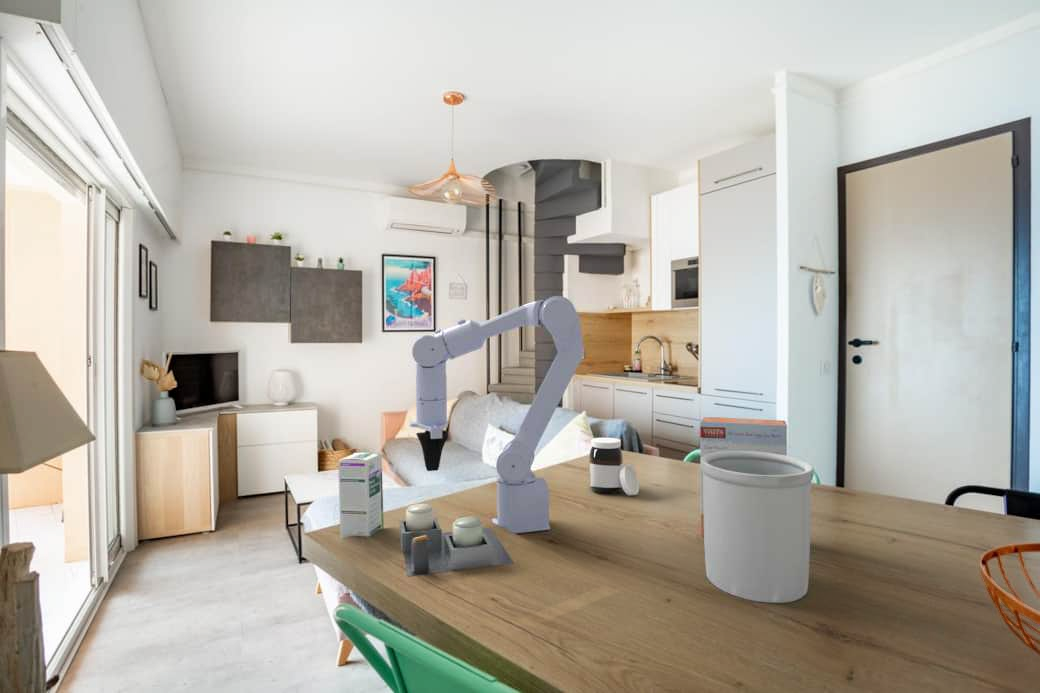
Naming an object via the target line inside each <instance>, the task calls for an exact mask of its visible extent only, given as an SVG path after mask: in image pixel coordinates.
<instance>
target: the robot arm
mask: <svg viewBox="0 0 1040 693" xmlns="http://www.w3.org/2000/svg"><path fill="white" fill-rule="evenodd" d="M542 325H543V326H544V327H545V328H546V330H547V331H548V332H549V334H550V335H551V336H552V340H553V343H554V345H555V348H556V350H557V354H556V355H555V358H554V360H553V361H552V363H551V366H550V368H549V369H548V371H547V373H546V375H545V377H544V379H543V381H542V383H541V385H540V387H539V388H538V391H537V393H536V394H535V397H534V399H533V401H532V403H531V405H530V407H529V408H528V410H527V412H526V414H525V416H524V418H523V419H522V422H521V424H520V426H519V428H518V429H517V432H516V433H515V436H513V437H514V438H513V439H511V440H510V441H508V442H507V444H505V446H504V447H503V450H502V452H501V453H500V454H499V455H498V456H497V460H496V463H495V464H496V468H495V469H496V471H497V474H498V475H497V477H496V482H497V483H496V491H497V492H496V496H497V497H496V498H497V499H496V500H497V501H496V504H497V505H496V507H497V508H496V509H497V512H496V514H497V517H494V518H491V522H492V523H493V524H495V525H498V526H499V527H501V528H503V529H505V530H507V531H510V532H512V533H513V534H523V533H532V532H539V531H550V530H551V526H550V491H549V486H548V483H547V481H546V479H545V478H544V477H542V476H540V477H536V474H534V472H533V470H532V469H531V468H532V465H533V464H534V460H535V451H536V449H537V447H538V445H539V444H540V443H539V442H541V441H540V440H541V439H542V437H543V435H544V433H545V431H546V429H547V427H548V425H549V423H550V421H551V419H552V417H553V415H554V413H555V411H556V409H557V408H558V405H559V403H560V402H561V401H562V397H563V396H564V394H565V392H566V390H567V388H568V386H569V384H570V382H571V381H572V379H573V376H574V374H575V372H576V371H577V368H578V366H579V365H580V364H581V361H582V358H583V357H584V354H585V349H584V343H583V342H584V340H583V334H582V326H581V325H582V324H581V319H580V316H579V313H578V312H577V309H576V308H575V306H574V304H573V302H571V300H570V299H568V298H567V297H565V296H561V295H554V296H551V297H549V298H547V299H546V300H544V299H541V300H536V301H533V302H529V303H525V304H523V305H521V306H518V307H516V308H513V309H511V310H509V311H505V312H504V313H501V314H500V315H497V316H495V317H492V318H490V319H488V320H486V321H483V322H480V323H479V322H477V321H474V320H472V319H470V320H467V321H466V319H460V320H457V325H454V326H451V327H449V328H446V329H444V330H441V329H437V330H435V331H434V333H435V335H429V334H428V335H427V334H425V335H423V336H422V337H420V338H419V339H417V340H416V341H415V343H414V344H413V346H412V351H411V354H412V357H413V360H414V361H415V362H416V365H415V366H416V375H415V382H416V383H415V384H416V386H415V388H416V389H415V391H416V392H415V393H416V396H415V397H416V398H415V399H416V400H415V401H416V403H415V404H416V405H415V406H416V421H411V422H410V423H409V424H410V425H409V427H411V428H418V429H421V430H423V432H417V433H415V435H416V436H417V439H418V441H419V443H420V446H421V450H422V454H423V461H424V465H425V469H426V471H427V472H435V471H439V469H440V463H441V457H442V453H443V449H444V446H445V444H446V441H447V440H448V438H449V434H448V433H447V431H446V430H444V429H446V428H447V427H448V426H449V421H448V416H447V415H448V412H447V410H448V408H447V407H448V404H447V402H448V400H447V391H448V390H447V387H448V386H447V372H446V371H447V369H446V366H447V365H446V364H447V363H446V362H447V361H448V360H454V359H456V358H459V357H462V356H464V355H466V354H469V353H472V352H474V351H477V350H480V349H482V348H483V346H484V344H485V341H487V339H488V338H489V339H490V338H492V337H494V336H498V335H501V334H504V333H506V332H509V331H513V330H514V329H517V328H521V327H523V326H531V327H538V328H540V327H542Z"/></svg>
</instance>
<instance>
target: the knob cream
mask: <svg viewBox="0 0 1040 693" xmlns="http://www.w3.org/2000/svg"><path fill="white" fill-rule="evenodd" d="M434 511H435V510H434V507H433V506H432V505H431V504H427V503H416V504H412V505H409V506H407V508H406V509H405V520H406V530H407V531H410V532H411V531H421V530H430V529H433V528H434V514H435V513H434Z"/></svg>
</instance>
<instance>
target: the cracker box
mask: <svg viewBox="0 0 1040 693" xmlns="http://www.w3.org/2000/svg"><path fill="white" fill-rule="evenodd" d="M787 426H788V425H787V422H786V420H782V419H781V420H780V419H779V420H777V419H776V420H775V419H761V418H760V419H759V418H758V419H757V418H739V417H716V416H715V417H712V416H709V417H708V416H706V417H705V416H704V417H703V418H702V419H701V420H700V429H699V430H700V433H699V434H700V443H699V444H700V445H699V446H700V453H699V454H700V455H699V457H700V462H699V463H700V467H701V458H702V457H703V456H704V455H706V454H709V453H714V452H722V451H755V452H766V453H774V454H780V455H786V456H788V439H787V438H788V434H787V433H788V431H787V430H788V427H787ZM700 531H701V532H700V533H701V534H700V535H701V537H703V538H704V506H703V471H702V469H701V468H700Z"/></svg>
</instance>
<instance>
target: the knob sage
mask: <svg viewBox="0 0 1040 693" xmlns="http://www.w3.org/2000/svg"><path fill="white" fill-rule="evenodd" d="M482 529H483V521H482V520H481V519H480V518H479V517H474V516H463V517H459V518H456V519H455V520H454V522H452V532H453V545H454V546H456V547H459V548H460V547H468V546H477V545H481V544H482Z"/></svg>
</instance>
